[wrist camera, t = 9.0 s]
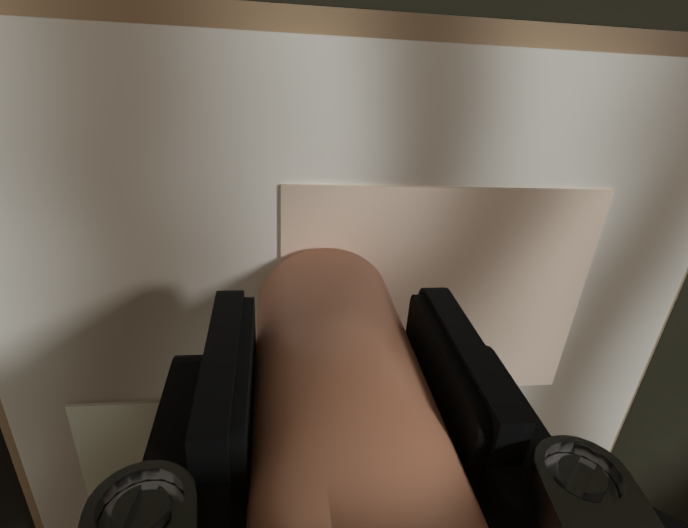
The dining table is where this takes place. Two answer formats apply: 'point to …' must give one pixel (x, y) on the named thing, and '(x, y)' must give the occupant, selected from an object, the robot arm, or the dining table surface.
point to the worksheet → (322, 199)
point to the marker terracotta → (345, 409)
